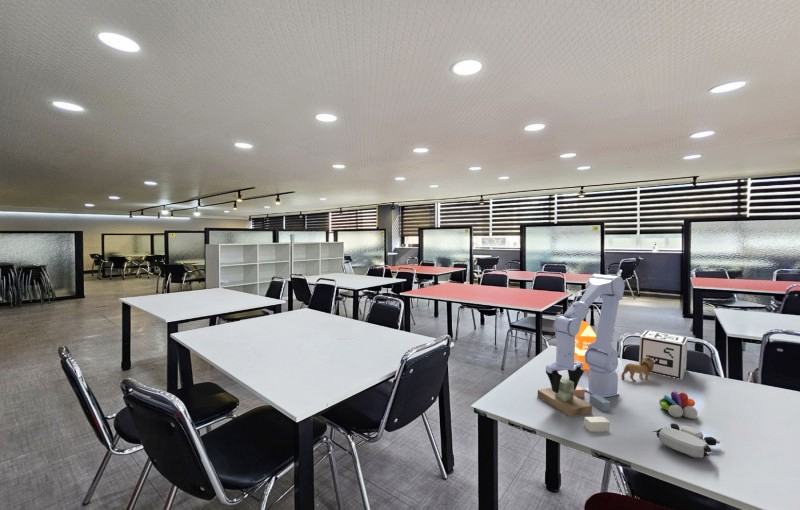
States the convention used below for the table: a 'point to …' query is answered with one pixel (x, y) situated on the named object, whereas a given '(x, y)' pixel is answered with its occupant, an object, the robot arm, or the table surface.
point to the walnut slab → (565, 403)
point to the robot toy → (686, 440)
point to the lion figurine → (639, 368)
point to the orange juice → (583, 342)
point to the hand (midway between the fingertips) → (563, 390)
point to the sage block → (565, 390)
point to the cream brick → (596, 423)
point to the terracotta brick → (579, 392)
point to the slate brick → (600, 402)
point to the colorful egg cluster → (679, 405)
